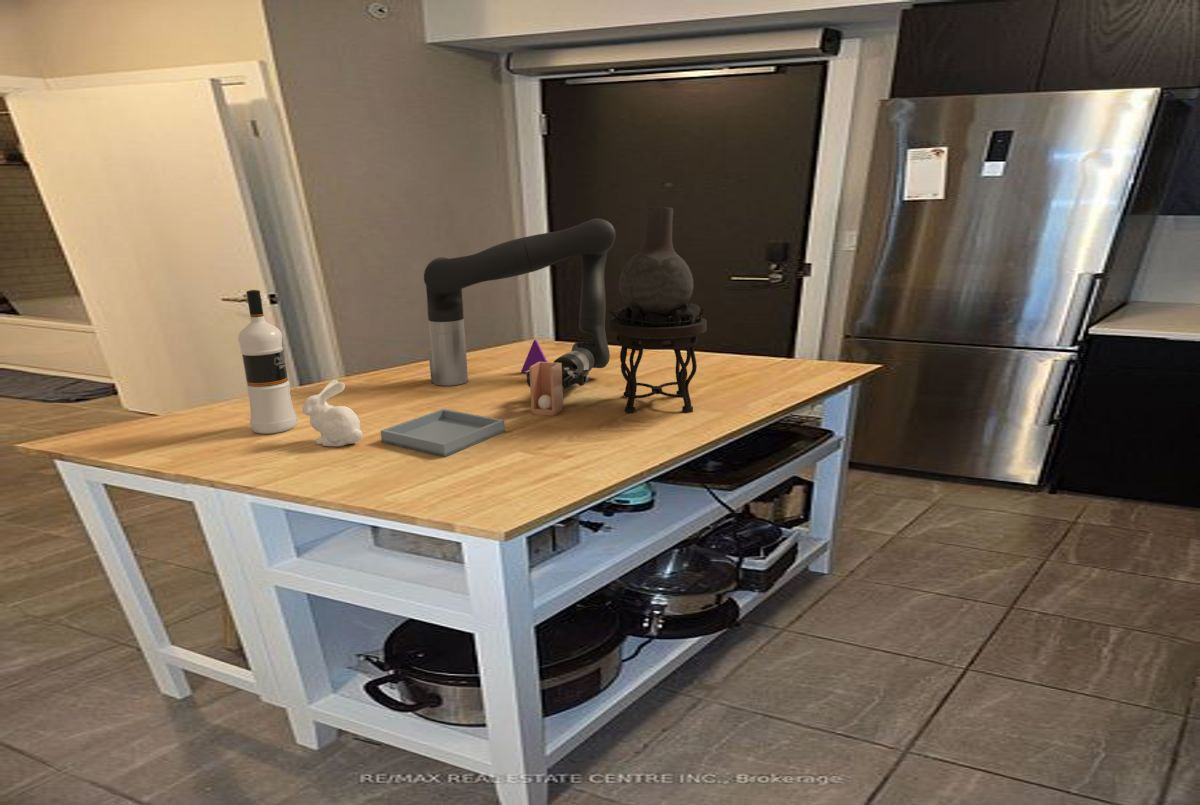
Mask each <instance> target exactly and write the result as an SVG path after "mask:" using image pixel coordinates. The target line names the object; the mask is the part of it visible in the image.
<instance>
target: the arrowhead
mask: <svg viewBox="0 0 1200 805" xmlns="http://www.w3.org/2000/svg"><path fill="white" fill-rule="evenodd" d="M538 362H548V361H547V358H546V356H545V354H544V352H543V349H542V348H541V346H540V344H539V343H538V341H537V339H534V340H533V341H532V343H531V346H530V348H529V351H528V354H527V356H526V358H525V361H524V363H523V366H522V369H521V371H520V374H523V373H526V372H528V371H530V370H529V367H530V366H532V365H534V364H536V363H538Z"/></svg>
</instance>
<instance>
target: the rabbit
mask: <svg viewBox="0 0 1200 805" xmlns="http://www.w3.org/2000/svg"><path fill="white" fill-rule="evenodd" d="M345 388H346V384H345V383H344V382H341V381H338V380H337V379H332V380H330V381H329V382H328V384H326V386H325V387H323V389H322V390H321V391H320V392H319V393H318V394H313V395H310V396H308V397H307V398H306V399H305V401H304V402H303V404H302V410H301V411H302V413H303V414H304V415H305V416H308V417H309V416H310V417H309V419H310V420H309V423H310V425H311V427H312V428H313V429H314V430H315V431H316V432H319V433H320V436H321V437H318V438H316V440H315V444H316V445H322V446H324V447H343V446H347V445H353V444H356V443H358V442H359V441H361V439H363V436H364V434H363V431H362V430H361V421H360V419H359V417H358V414H356V413H355V412H354V411H353V409H351V408H349V407H347V406H344V405H340V406H335V405H331V404H329V403H328V402H327V400H328V399H330V398H331V397H332V398H333V396H336V395H338V394H340V393H341V392H343V391H344V390H345Z"/></svg>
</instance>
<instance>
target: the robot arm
mask: <svg viewBox="0 0 1200 805" xmlns="http://www.w3.org/2000/svg"><path fill="white" fill-rule="evenodd" d="M616 233H617V232H616V229H615V227H614V226H613V224H612V223H611V222H609V221H608V220H606V219H602V218H593V219H592V218H591V219H590V220H586V221H585V222H582V223H579V224H576V225H575V226H571V227H568V228H564V229H562V230H558V231H551V232H545V233H539V234H534V235H530V236H529V235H528V236H523V237H520V238H516V239H512V240H509V241H508V240H507V241H505V242H501V243H499V244H496V245H493V246H491V247H488V248H487V249H483V250H482V251H480V252H476V253H474V254H469V255H465V256H459V257H457V256H456V257H452V258H451V257H449V258H448V257H443V256H442V257H436V258H434V259H432V260H430V262H429V263H428V264H427V266H426V267H425V269H424V271H423V281H424V282H423V283H424V284H425V289H426V290H425V291H426V298H427V300H426V301H427V302H426V303H427V320H428V321H427V322H428V330H429V340H430V347H428V359H429V370H430V371H429V372H430V381H431V383H433V384H434V385H438V386H444V387H446V386H458V385H462V384H466V383H467V382H469V375H468V374H469V372H468V358H467V344H466V334H465V333H466V331H465V319H464V318H465V317H464V302H463V289H465V288H467V287H468V288H469V287H470V286H474V285H476V284H481V283H483V282H490V281H496V280H502V279H509V278H512V277H518V276H522V275H525V274H529V273H534V272H536V271H537V272H538V271H540V270H543V269H545V268H548V267H550V266H552V265H555V264H557V263H559V262H561V261H564V260H567V259H570V258H574V257H579V256H580V260H581V288H580V301H579V302H580V303H579V319H578V320H579V321H578V328H579V331H580V332H582V333H585V334H589V335H592V336H593V337H594V340H595V342H593V341H577V342H575V343H574V344H573V345H572V348H571V351H569V352H566V353H564V354H562V355H560V356H559V357H558V358H555V360H553V363H562V390H568V389H569V388H571V387H575V386H576V385H578V386H580V387H583V386H584V385H586V384H587V382H589V380H590V375H589V374H590V373H589V372H591V371H592V369H604V368H605V367H607V365H608V364H609V362H610V358H611V356H610V355H611V354H610V349H609V344H608V340H607V335H606V325H605V324H606V322H605V321H606V308H607V304H606V288H605V287H606V286H605V285H606V284H605V268H606V262H607V257H608V252H609V251H610V249H612V247H613V246H614V244H615V241H616V237H617V236H616ZM525 373H526V383H527V386H528V388H530V370H528V371H526V372H525Z"/></svg>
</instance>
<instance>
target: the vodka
mask: <svg viewBox="0 0 1200 805" xmlns="http://www.w3.org/2000/svg"><path fill="white" fill-rule="evenodd" d="M245 293H246V299H247V305H248V309H249V317H250V323H248V324H247V325H246V326H245V327H244V328H243V329H241V330H240V331H239V334H238V336H237V337H238V338H237V341H238V343H239V348H240V354H241V355H242V356H241V358H242V363H243V368H244V369H243V370H244V376H245V379H246V381H245V382H246V390H247V393H248V397H249V398H248V400H249V406H250V407H249V408H250V420H249V425H250V429H251V431H253V432H254V433H256V434H260V435H261V434H262V435H273V434H274V435H275V434H280V433H284V432H288V431H290V430H292V429H294V427H296V426H297V425H298V415H297V413H296V412H295V408H294V406H293V402H292V397H291V391H290V389H291V388H290V383H291V382H290V381H289V377H288V370H287V362H286V356H285V351H284V350H285V349H284V344H283V333H282V331H281V330H280V329H279V328H278V327H277V326H274V325H273V324H271V323H269V322H267V321H266V319H265V315H264V308H263V303H262V302H263V301H262V296H261V291H260V290H259V289H249V290H247V291H246V292H245Z"/></svg>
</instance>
